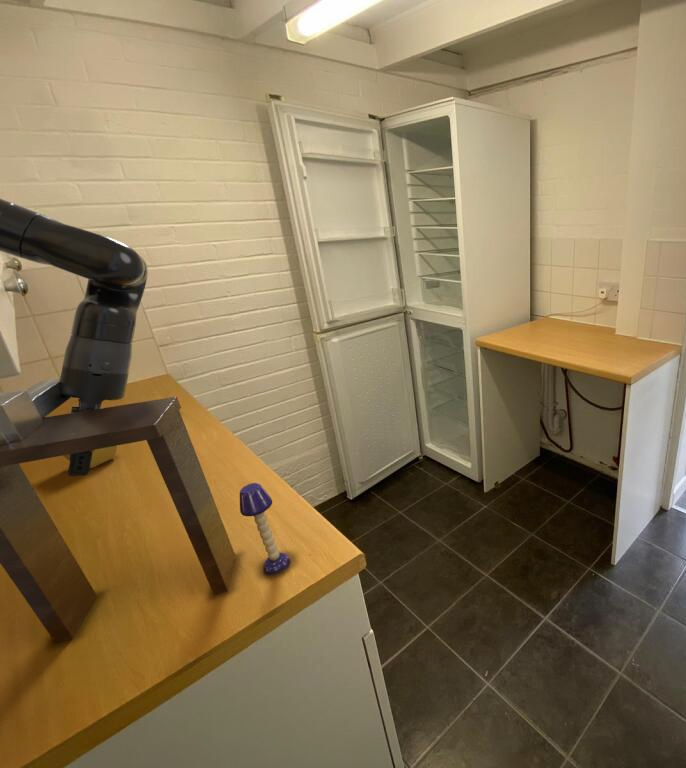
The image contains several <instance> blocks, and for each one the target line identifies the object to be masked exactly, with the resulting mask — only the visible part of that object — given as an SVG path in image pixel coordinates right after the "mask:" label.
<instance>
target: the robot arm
mask: <svg viewBox="0 0 686 768" xmlns="http://www.w3.org/2000/svg"><path fill="white" fill-rule="evenodd" d="M0 252H2V253H5V254H8V255H11V256H14V257H17V258H20V259H24V260H27V261H30V262H34V263H37V264H42V265H46V266H51V267H55V268H56V269H59V270H62V271H65V272H67V273H71V274H73V275H76V276H79V277H82V278H84V279H87V284H86V289H85V293H84V297H83V299H82V300H81V301H80V302H79V303H78V304H77V307H76V309H75V313H74V318H73V321H72V327H71V332H70V337H69V340H68V342H67V345H66V347H65V351H64V356H63V361H62V366H61V372H60V377H59V379H60V393H61V394H62V395H63V396H67V397H71V399H73V398H75V399H76V398H77V402H78V405H77V406H76V405H71V410H70V413H75V412H82V411H88V410H94V409H101V408H102V403H103V402H105V401H119V400H122V399H124V397H125V396H126V389H127V385H128V381H129V380H128V379H129V374H130V368H131V364H132V357H133V341H134V336H135V332H136V326H137V315H138V311H139V307H140V305H141V302H142V298H143V296H144V293H145V288H146V285H147V281H148V273H149V269H148V265H147V263H146V261H145V259H144V258H143V257H142V256H141V255H140V254H139V253H138V252H137V251H136V250H135V249H133V247H131V246H129V245H128V244H125V243H124V242H121V241H119V240H116V239H113V238H110V237H108V236H104V235H102V234H99V233H96V232H92V231H90V230H86V229H83V228H80V227H76V226H74V225H69V224H66V223H63V222H61V221H59V220H57V219H54V218H52V217H50V216H48V215H45V214H42V213H40V212H37V211H34V210H32V209H29V208H27V207H24V206H22V205H18V204H16V203H13V202H11V201H9V200H5V199H3V198H0ZM93 452H94V450H90V451H85V452H79V453H74V454H70V461H69V465H68V470H67V475H68V476H70V477H85V476H88V475H89V473H90V469H91V468H90V463H91V458H92V453H93Z"/></svg>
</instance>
